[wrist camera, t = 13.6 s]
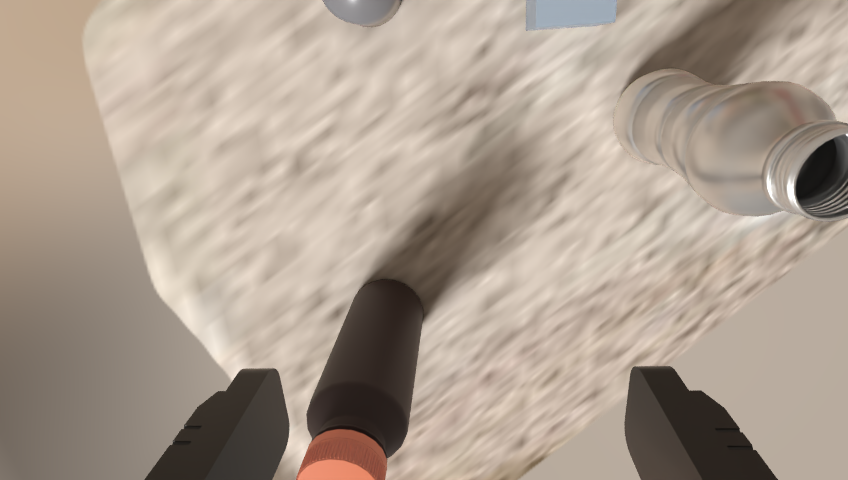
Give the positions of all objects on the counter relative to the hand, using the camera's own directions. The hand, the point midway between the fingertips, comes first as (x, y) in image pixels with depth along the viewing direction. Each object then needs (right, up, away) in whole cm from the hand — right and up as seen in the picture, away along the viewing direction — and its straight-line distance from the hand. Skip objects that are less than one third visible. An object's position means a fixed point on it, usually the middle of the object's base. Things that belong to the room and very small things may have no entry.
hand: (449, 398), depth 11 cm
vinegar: (-4, -3, +34) cm, 35 cm away
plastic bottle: (+17, +14, +26) cm, 34 cm away
